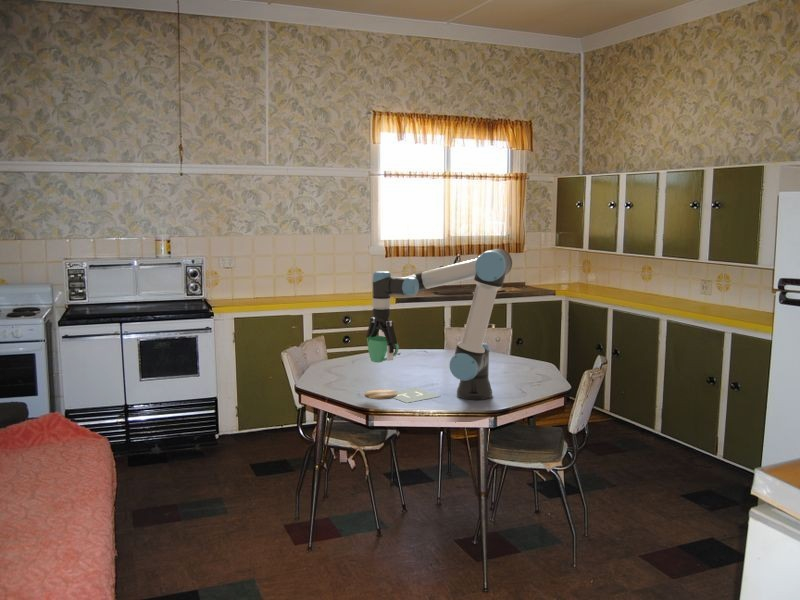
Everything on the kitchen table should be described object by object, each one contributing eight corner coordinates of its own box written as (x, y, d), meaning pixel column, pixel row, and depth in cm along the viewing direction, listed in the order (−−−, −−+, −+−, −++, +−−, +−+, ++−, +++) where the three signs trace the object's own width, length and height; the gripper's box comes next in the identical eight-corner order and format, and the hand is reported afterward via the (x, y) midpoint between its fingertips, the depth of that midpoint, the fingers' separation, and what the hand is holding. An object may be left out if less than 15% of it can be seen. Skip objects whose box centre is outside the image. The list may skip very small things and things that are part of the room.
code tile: (440, 396, 313) (440, 396, 313) (406, 403, 303) (406, 402, 303) (415, 387, 328) (415, 387, 328) (381, 393, 317) (381, 393, 317)
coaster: (404, 395, 314) (404, 394, 314) (376, 400, 306) (376, 399, 306) (385, 388, 326) (385, 387, 325) (358, 393, 317) (358, 392, 317)
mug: (361, 361, 313) (362, 338, 311) (372, 356, 322) (374, 334, 320) (391, 367, 307) (393, 344, 305) (402, 363, 315) (404, 340, 313)
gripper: (405, 310, 303) (405, 361, 306) (372, 303, 323) (372, 351, 326) (390, 312, 299) (390, 363, 302) (358, 305, 318) (358, 353, 321)
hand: (381, 357), depth 314 cm, fingers closed on mug, 12 cm apart
